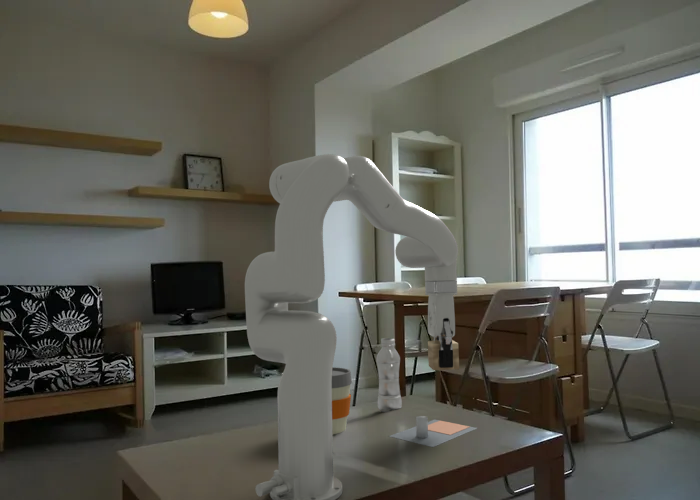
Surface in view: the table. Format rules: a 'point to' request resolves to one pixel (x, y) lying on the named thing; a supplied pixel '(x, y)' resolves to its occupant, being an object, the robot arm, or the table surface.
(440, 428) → the post plate
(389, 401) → the plastic bottle
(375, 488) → the table surface
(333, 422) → the reusable coffee cup
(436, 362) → the wooden block
